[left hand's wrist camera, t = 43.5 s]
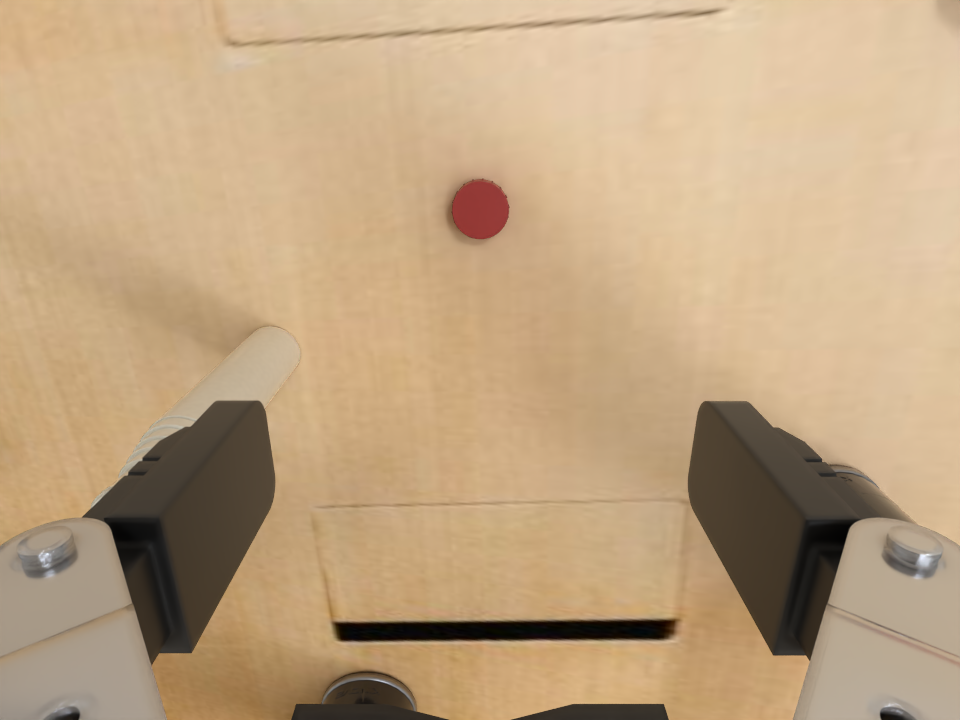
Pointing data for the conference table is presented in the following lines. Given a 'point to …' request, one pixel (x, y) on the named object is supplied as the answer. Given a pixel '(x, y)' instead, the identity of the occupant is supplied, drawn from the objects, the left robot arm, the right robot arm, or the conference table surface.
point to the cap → (480, 209)
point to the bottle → (227, 386)
